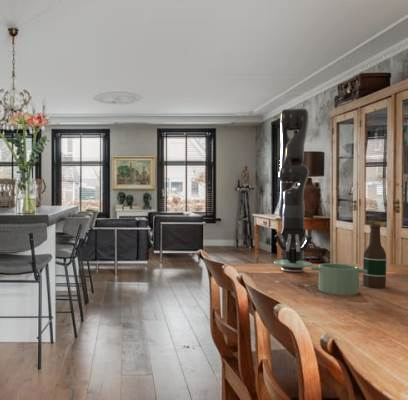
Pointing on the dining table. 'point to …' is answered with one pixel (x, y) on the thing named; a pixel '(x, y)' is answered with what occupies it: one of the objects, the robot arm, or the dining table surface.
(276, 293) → the dining table surface
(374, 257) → the beer bottle
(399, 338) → the dining table surface
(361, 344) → the dining table surface
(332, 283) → the pot
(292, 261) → the lid
